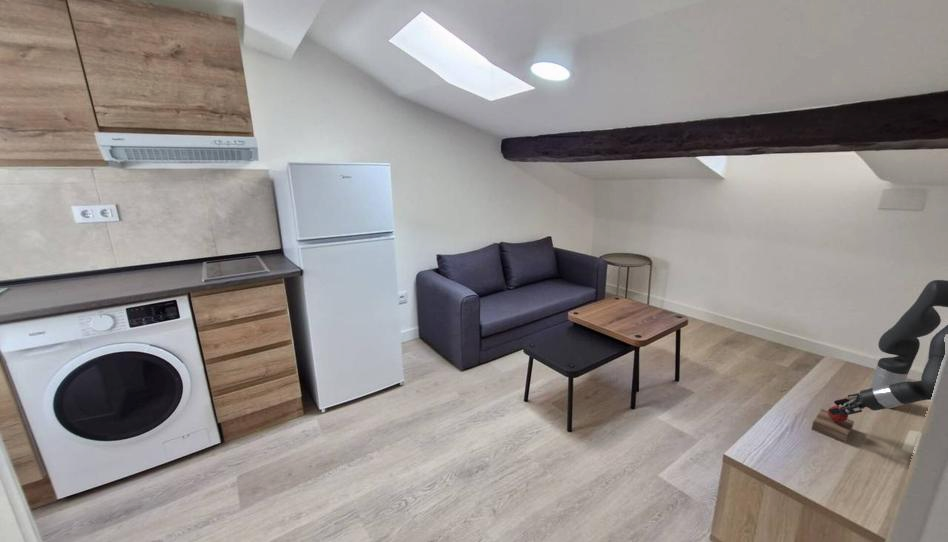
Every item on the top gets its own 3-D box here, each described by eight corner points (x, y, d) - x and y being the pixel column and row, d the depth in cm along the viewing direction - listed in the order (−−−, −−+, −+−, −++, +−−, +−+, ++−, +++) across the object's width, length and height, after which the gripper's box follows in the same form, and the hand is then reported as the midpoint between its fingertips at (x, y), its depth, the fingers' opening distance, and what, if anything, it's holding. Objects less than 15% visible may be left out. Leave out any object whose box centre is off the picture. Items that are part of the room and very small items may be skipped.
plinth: (819, 416, 160) (821, 409, 158) (851, 429, 152) (854, 421, 151) (811, 429, 153) (813, 421, 152) (844, 443, 145) (847, 434, 144)
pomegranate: (848, 427, 148) (855, 411, 145) (831, 425, 149) (838, 409, 146) (837, 417, 153) (844, 401, 150) (821, 415, 154) (828, 399, 151)
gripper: (877, 381, 143) (830, 392, 156) (869, 395, 136) (821, 406, 148) (893, 399, 141) (844, 409, 153) (886, 415, 133) (835, 424, 145)
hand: (832, 407), depth 151 cm, fingers open, 8 cm apart
